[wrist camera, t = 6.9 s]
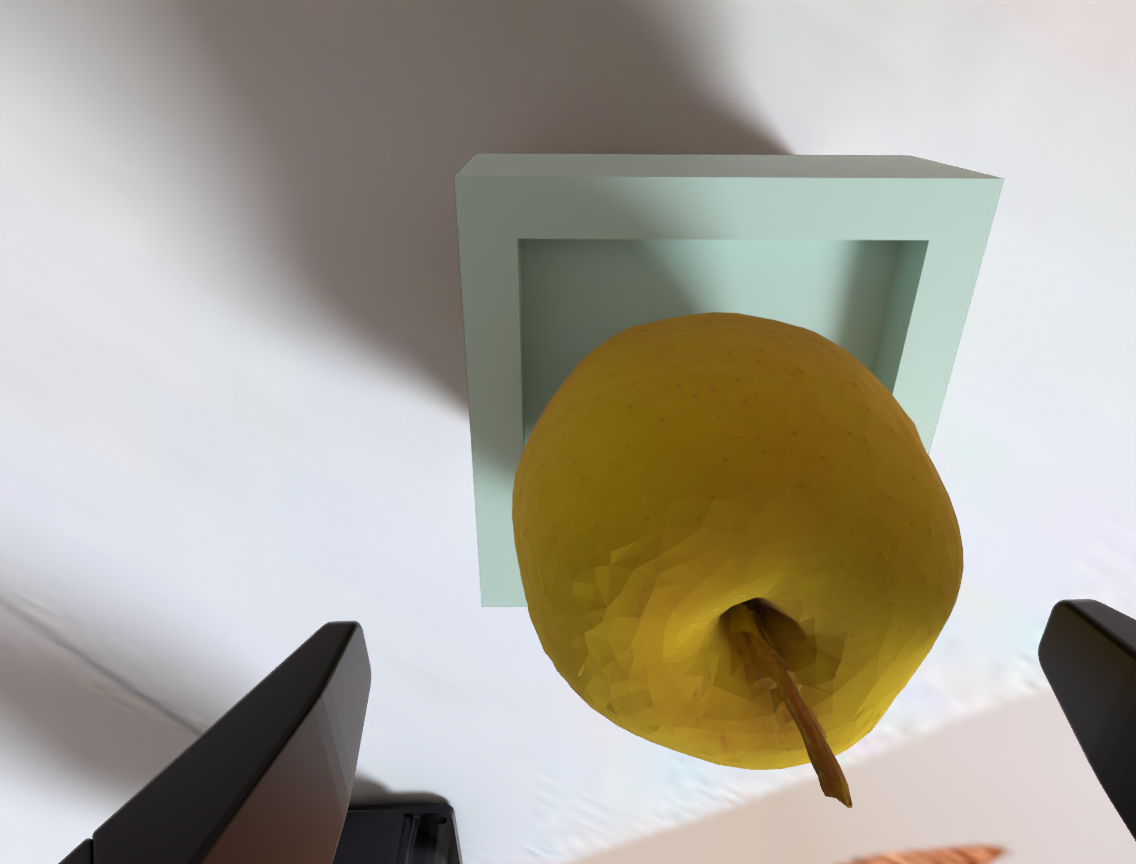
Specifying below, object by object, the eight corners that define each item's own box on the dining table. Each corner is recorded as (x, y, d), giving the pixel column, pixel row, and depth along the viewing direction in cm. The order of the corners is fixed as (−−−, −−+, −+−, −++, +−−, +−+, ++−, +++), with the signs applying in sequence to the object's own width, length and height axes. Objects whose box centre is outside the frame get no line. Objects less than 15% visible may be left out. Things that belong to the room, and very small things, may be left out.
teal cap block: (832, 516, 19) (887, 605, 16) (494, 517, 19) (481, 606, 16) (909, 155, 15) (1004, 178, 12) (476, 153, 15) (454, 176, 11)
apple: (763, 561, 16) (915, 944, 9) (493, 500, 16) (432, 868, 8) (894, 302, 13) (1258, 570, 6) (570, 210, 13) (576, 401, 6)
